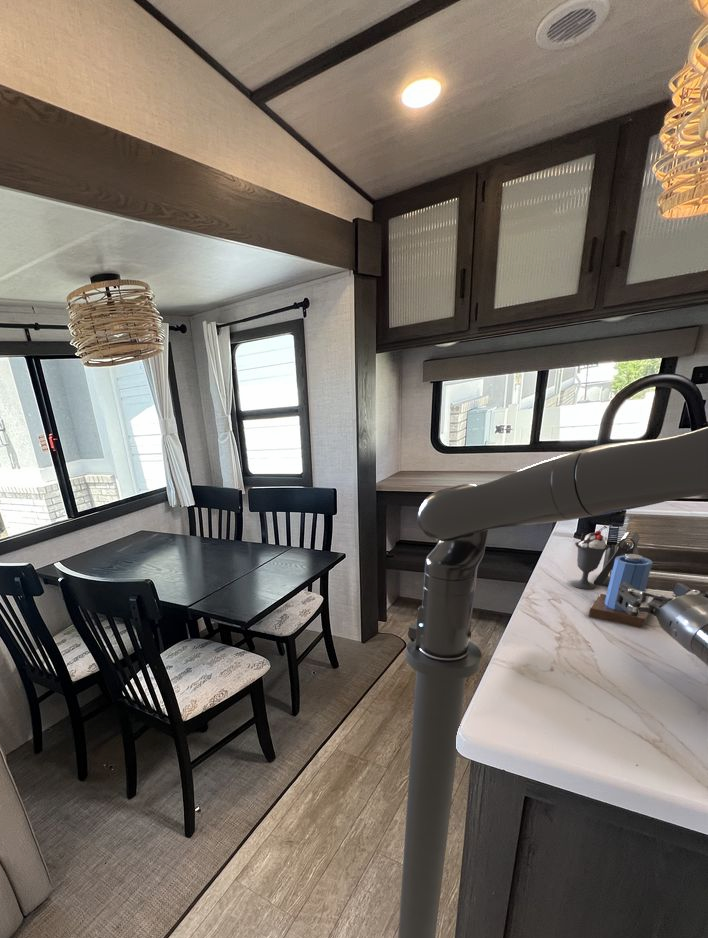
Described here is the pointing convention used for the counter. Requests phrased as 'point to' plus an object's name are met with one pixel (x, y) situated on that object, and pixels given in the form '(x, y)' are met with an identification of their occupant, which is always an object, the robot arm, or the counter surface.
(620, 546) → the phone stand
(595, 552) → the sundae
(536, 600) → the counter surface
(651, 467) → the robot arm
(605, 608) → the wooden base post
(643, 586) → the blue sleeve
